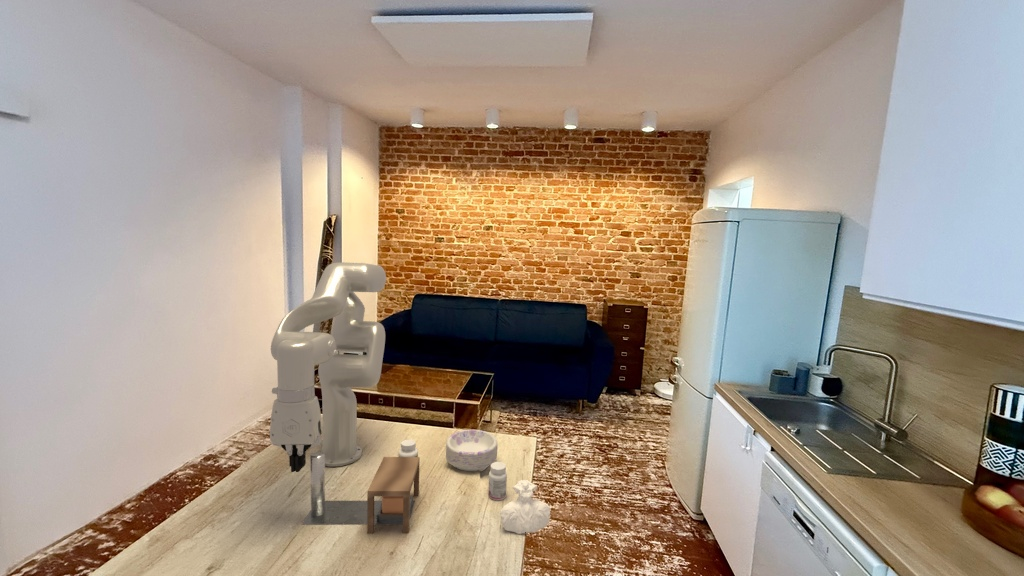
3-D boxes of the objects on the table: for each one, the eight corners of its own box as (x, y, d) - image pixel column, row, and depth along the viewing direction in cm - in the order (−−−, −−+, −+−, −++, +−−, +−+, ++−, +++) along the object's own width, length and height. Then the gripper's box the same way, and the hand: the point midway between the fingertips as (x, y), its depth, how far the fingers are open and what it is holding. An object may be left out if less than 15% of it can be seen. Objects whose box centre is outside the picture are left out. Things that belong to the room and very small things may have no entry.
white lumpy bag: (548, 531, 102) (542, 480, 108) (555, 530, 95) (549, 476, 101) (498, 536, 100) (496, 483, 105) (503, 534, 93) (500, 479, 99)
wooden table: (328, 552, 89) (327, 502, 88) (360, 489, 112) (360, 449, 111) (468, 550, 91) (469, 502, 90) (471, 489, 114) (472, 449, 113)
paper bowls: (463, 485, 116) (464, 458, 115) (436, 462, 128) (436, 437, 127) (507, 468, 125) (508, 443, 125) (478, 448, 137) (478, 424, 136)
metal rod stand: (301, 528, 96) (300, 465, 94) (317, 504, 105) (316, 445, 103) (408, 528, 97) (409, 465, 96) (415, 504, 106) (415, 446, 105)
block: (382, 518, 99) (382, 498, 98) (386, 505, 104) (387, 486, 103) (403, 518, 99) (403, 498, 99) (407, 505, 104) (407, 486, 104)
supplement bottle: (412, 481, 117) (413, 448, 116) (394, 478, 118) (395, 445, 117) (420, 471, 122) (421, 439, 121) (403, 469, 123) (403, 437, 122)
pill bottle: (487, 490, 114) (488, 460, 113) (505, 490, 114) (506, 460, 114) (488, 501, 109) (489, 470, 108) (506, 500, 110) (508, 470, 109)
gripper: (253, 398, 93) (255, 477, 95) (323, 399, 94) (324, 478, 96) (271, 387, 100) (273, 460, 102) (335, 388, 101) (336, 461, 103)
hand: (297, 468), depth 99 cm, fingers closed
